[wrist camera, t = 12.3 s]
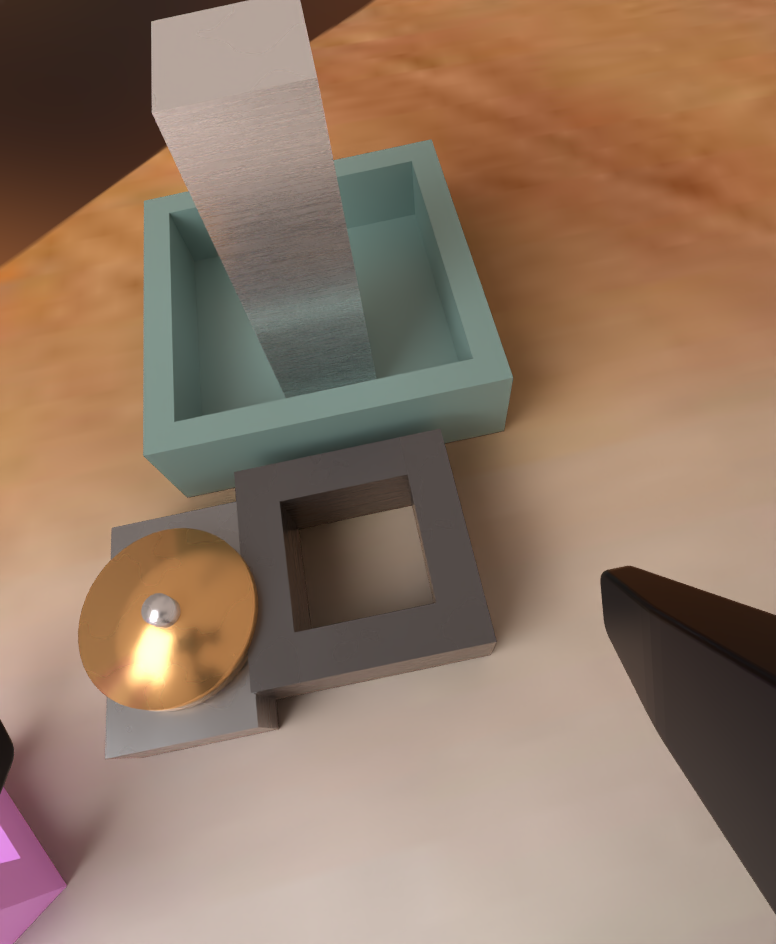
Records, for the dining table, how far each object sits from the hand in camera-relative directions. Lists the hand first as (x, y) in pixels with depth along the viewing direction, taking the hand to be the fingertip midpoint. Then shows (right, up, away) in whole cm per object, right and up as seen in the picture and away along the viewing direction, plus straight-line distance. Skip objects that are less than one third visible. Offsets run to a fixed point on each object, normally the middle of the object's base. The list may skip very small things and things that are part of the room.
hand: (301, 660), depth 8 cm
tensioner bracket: (-2, -2, +14) cm, 15 cm away
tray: (-2, +9, +20) cm, 22 cm away
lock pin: (-1, +8, +18) cm, 20 cm away
